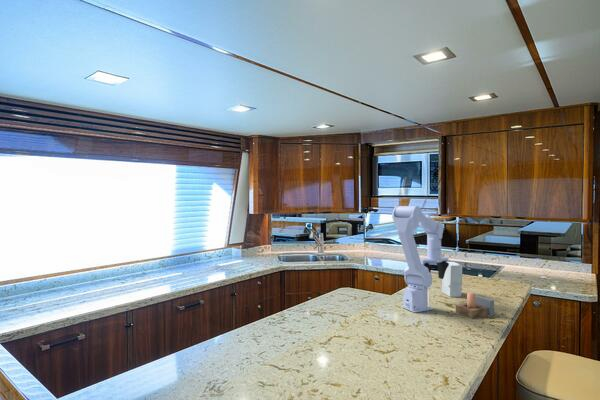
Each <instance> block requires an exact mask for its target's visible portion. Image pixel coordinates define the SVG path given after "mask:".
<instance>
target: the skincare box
mask: <svg viewBox="0 0 600 400" xmlns="http://www.w3.org/2000/svg"><path fill="white" fill-rule="evenodd" d="M447 263H449V266H448V267H447V269H446V271H445V274H444V278H443V279H441V293H443V294H445V295H447V296H448V297H450V298H453V297H454V298H457V297H458V298H459V297H462V293H463V292H462V290H463V289H462V287H463V265H461V264H459V263H458V262H455V261H449V262H447Z"/></svg>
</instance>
